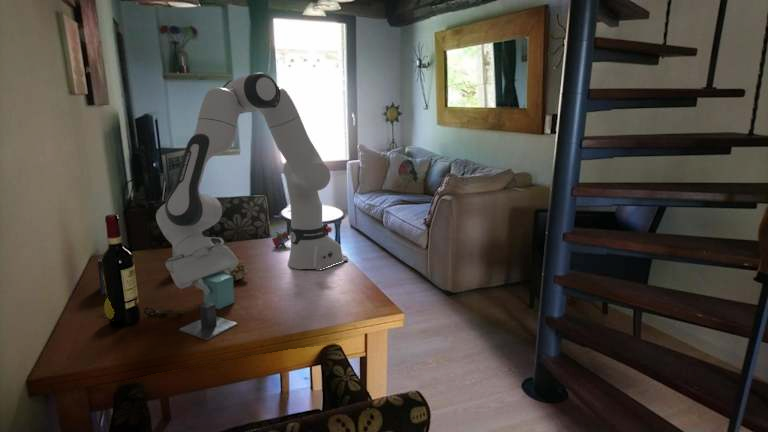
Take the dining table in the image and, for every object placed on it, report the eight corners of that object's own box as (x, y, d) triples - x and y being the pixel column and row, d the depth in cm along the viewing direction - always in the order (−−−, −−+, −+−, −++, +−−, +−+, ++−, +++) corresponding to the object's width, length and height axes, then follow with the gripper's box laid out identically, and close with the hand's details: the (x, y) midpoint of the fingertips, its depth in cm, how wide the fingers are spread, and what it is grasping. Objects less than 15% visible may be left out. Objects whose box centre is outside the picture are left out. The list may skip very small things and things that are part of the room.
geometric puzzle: (273, 246, 184) (283, 228, 186) (265, 242, 189) (275, 225, 191) (286, 254, 189) (296, 237, 190) (278, 249, 194) (288, 233, 196)
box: (122, 292, 141) (118, 258, 139) (100, 294, 139) (96, 261, 136) (123, 283, 148) (120, 251, 146) (103, 286, 146) (99, 253, 143)
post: (211, 315, 126) (209, 294, 125) (237, 324, 122) (236, 302, 120) (179, 330, 118) (177, 307, 116) (206, 340, 113) (205, 316, 112)
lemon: (112, 317, 124) (109, 289, 122) (133, 316, 125) (130, 288, 123) (101, 326, 119) (98, 297, 117) (124, 326, 119) (121, 297, 118)
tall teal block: (220, 298, 138) (218, 272, 136) (234, 302, 135) (232, 276, 134) (204, 304, 133) (202, 278, 131) (218, 309, 130) (217, 282, 129)
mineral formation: (216, 291, 143) (189, 277, 152) (252, 286, 154) (225, 273, 163) (220, 266, 142) (192, 253, 151) (255, 262, 153) (228, 251, 162)
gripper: (167, 253, 125) (194, 295, 123) (226, 236, 142) (251, 272, 140) (157, 266, 128) (184, 307, 126) (216, 248, 146) (241, 284, 143)
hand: (220, 289), depth 133 cm, fingers closed on tall teal block, 6 cm apart
